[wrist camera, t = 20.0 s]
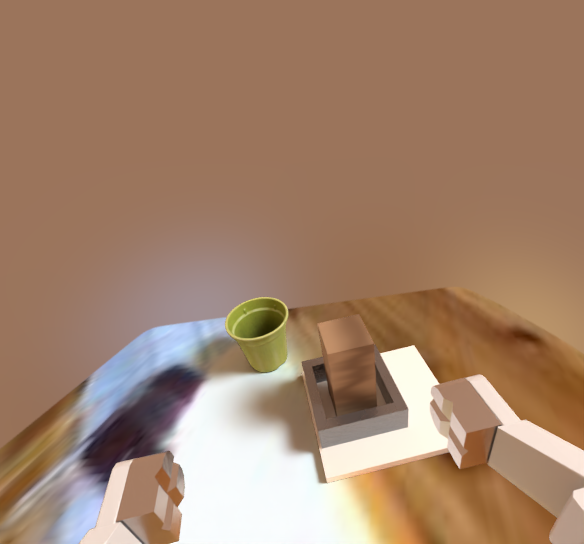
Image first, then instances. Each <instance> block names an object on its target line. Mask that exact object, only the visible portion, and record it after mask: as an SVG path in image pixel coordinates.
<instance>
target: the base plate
mask: <svg viewBox="0 0 584 544" xmlns="http://www.w3.org/2000/svg"><path fill="white" fill-rule="evenodd" d="M380 355H381V357H382V359H383V361H384V363H385V364H386V366H387V368H388V370H389V372H390V374H391V376H392V378H393V380H394V382H395V384H396V386H397V388H398V390H399V391H400V393H401V395H402V397H403V399H404V401H405V403H406V405H407V407H408V409H409V411H408V427H407V428H403V429H399V430H395V431H391V432H387V433H383V434H379V435H375V436H371V437H367V438H363V439H359V440H355V441H351V442H347V443H343V444H339V445H335V446H331V447H327V448H323V449H322V447H321V443H320V439H319V434H318V430H317V426H316V422H315V418H314V413H313V409H312V405H311V401H310V397H309V392H308V388H307V384H306V380H305V375H304V372H302V376H303V381H304V385H305V389H306V394H307V398H308V402H309V407H310V411H311V415H312V420H313V424H314V428H315V433H316V437H317V441H318V446H319V450H320V454H321V459H322V463H323V467H324V472H325V476H326V480H327V483H330V482H334V481H338V480H342V479H346V478H350V477H354V476H357V475H361V474H365V473H369V472H373V471H377V470H381V469H385V468H389V467H393V466H397V465H401V464H405V463H409V462H413V461H417V460H420V459H424V458H428V457H432V456H436V455H440V454H444V453H448V452H449V450H448V448H447V444H448V439H447V438H446V437H444V436H442V435H441V434H439V432H438V430H437V429H436V427H435V425H434V422H433V420H432V417H431V413H430V402H431V401H432V400H433V399H434V398H433V397H432V395H431V388H432V387H433V386H435V385H438V384H439V383H438V381H437V380H436V378H435V377H434V375H433V374H432V372H431V371H430V369H429V368H428V366H427V365H426V363H425V362H424V360H423V358H422V357H421V355H420V354H419V352H418V351H417V349H416V348H415V346H410V347H406V348H401V349H397V350H393V351H389V352H385V353H380ZM317 387H318V391H319V394H320V398H321V402H322V406H323V409H324V413H325V417H326V419H329V418H333V417H336V414H335V410H334V407H333V404H332V400H331V397H330V394H329V390H328V385H327V381H324V382H320V383H317ZM376 394H377V407H378V406H382V405H386V402H385V400H384V398H383V396H382V394H381V391H380V389H379V387H378V385H377V383H376Z"/></svg>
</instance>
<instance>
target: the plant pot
mask: <svg viewBox="0 0 584 544" xmlns="http://www.w3.org/2000/svg"><path fill="white" fill-rule="evenodd" d="M287 319H288V309H287V307H286V305H285V304H284V303H283V302H282V301H280V300H278V299H275V298H270V297H261V298H254V299H251V300H248V301H245V302H244V303H242V304H240V305H238V306H237V307H235V308H234V309H233V310H232V311H231V312H230V313H229V315H228V316H227V318H226V321H225V328H226V331H227V333H228V334H229V335H230V336H231V337H232V338H234V339H235V340H236V341H237V342H238V344H239V346H240V347H241V349H242V351H243V352H244V354H245V356H246V358H247V360H248V361H249V363H250V365H251V366H252V367H253V368H254V369H255V370H257V371H259V372H270V371H274V370H276V369H277V368H278V367H279V366H280V365H281V364H283V363H284V362H285V361H286V359H287V343H286V329H285V327H286V321H287Z"/></svg>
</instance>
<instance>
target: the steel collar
mask: <svg viewBox="0 0 584 544" xmlns="http://www.w3.org/2000/svg"><path fill="white" fill-rule="evenodd" d="M374 352H375V373H376V383H377V385H378V387H379V389H380V391H381V394H382V396H383V398H384V400H385V402H386V405H382V406H378V407H373V408H369V409H365V410H361V411H357V412H353V413H349V414H345V415H341V416H337V417H333V418H329V419H326V417H325V413H324V409H323V406H322V402H321V398H320V394H319V391H318V387H317V383H320V382H324V381H327V379H326V373H325V366H324V360H323V357H320V358H316V359H312V360H307V361H303V362H302V366H303V371H304V375H305V380H306V384H307V388H308V392H309V397H310V401H311V405H312V409H313V413H314V418H315V422H316V426H317V430H318V434H319V439H320V443H321V447H322V449H323V448H327V447H331V446H335V445H339V444H343V443H347V442H351V441H355V440H359V439H363V438H367V437H371V436H375V435H379V434H383V433H387V432H391V431H395V430H399V429H403V428H407V427H408V411H409V409H408V407H407V405H406V403H405V401H404V399H403V397H402V395H401V393H400V391H399V390H398V388H397V386H396V384H395V382H394V380H393V378H392V376H391V374H390V372H389V370H388V368H387V366H386V364H385V363H384V361H383V359H382V357H381V355H380V353H379V351H378V349H377V347H376V345H374Z"/></svg>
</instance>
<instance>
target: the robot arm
mask: <svg viewBox="0 0 584 544" xmlns="http://www.w3.org/2000/svg"><path fill="white" fill-rule="evenodd" d="M431 395H432V397H433V398H434V399H433V400H432V401H431V402H430V413H431V417H432V420H433V422H434V425H435V427H436V429H437V430H438V432H439V434H441V435H442V436H444V437H446V438H447V439H448V444H447V448H448V450H449V452H450V453H451V455H452V457H453V459H454V460H455V462H456V464H457V466H458V467H459V469H462V468H467V467H471V466H476V465H480V464H485V463H488V465H489V466H490V467H492V468H493V469H494V470H496V471H497V472H498V473H499V474H501V475H502V476H503V477H505V478H506V479H507V480H509V481H510V482H511V483H513V484H514V485H515V486H517V487H518V488H519V489H520V490H522V491H523V492H524V493H526V494H527V495H528V496H530V497H531V498H532V499H534V500H535V501H536V502H537V503H539V504H540V505H541V506H543V507H544V508H545V509H547V510H548V511H549V512H551V513H552V514H553V515H554V516H556V517H557V518H558V519H557V520H556V522H555V524H554V526H553V528H552V529H551V531H550V535H549V539H550V541H551V542H552V544H584V451H583V450H581V449H579V448H578V447H576V446H574V445H572V444H570V443H568V442H566V441H564V440H563V439H561V438H559V437H557V436H555V435H553V434H551V433H549V432H548V431H546V430H544V429H542V428H540V427H538V426H536V425H535V424H533V423H531V422H529V421H527V420H522V421H521V420H520V419H519V418H518V417H517V416H516V414H515V413H514V412H513V411H512V410H511V408H510V407H509V406H508V405H507V404H506V402H505V401H504V400H503V399H502V397H501V396H500V395H499V394H498V393H497V391H496V390H495V389H494V388H493V387H492V385H491V384H490V383H489V382H488V381H487V379H486V378H485V377H484V376H482V375H474V376H471V377H467V378H461V379H457V380H454V381H450V382H446V383H442V384H438V385H435V386H433V387H432V388H431ZM173 459H174V456H173V455H172V453H171V452H170V451H166V452H162V453H158V454H154V455H149V456H145V457H141V458H137V459H131V460H127V461H123V462H119V463H116V465H115V467H114V468H113V470H112V472H111V476H110V479H109V482H108V486H107V489H106V493H105V496H104V499H103V503H102V506H101V509H100V513H99V516H98V519H97V523H96V526H95V528H93V529H90V530H89V531H88V532H87V533H86V535H85V536H84V537H83V539H82V540H81V541H80V543H79V544H170V543H173V542H177V541H179V534H180V526H181V517H182V514H181V512H180V511H179V509H178V505H179V504H180V502H181V501H182V499H183V498H184V488H185V484H184V474H183V471H182V468H181V467H180V465H179V464H176V463H174V462H173Z"/></svg>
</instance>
